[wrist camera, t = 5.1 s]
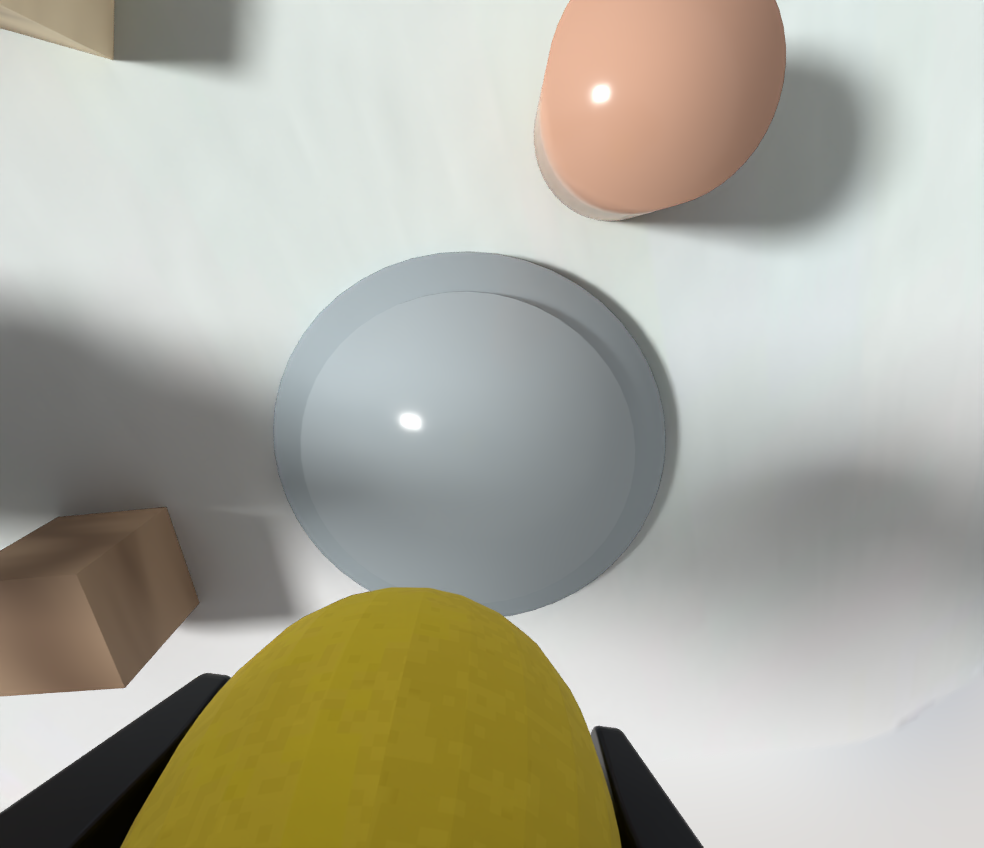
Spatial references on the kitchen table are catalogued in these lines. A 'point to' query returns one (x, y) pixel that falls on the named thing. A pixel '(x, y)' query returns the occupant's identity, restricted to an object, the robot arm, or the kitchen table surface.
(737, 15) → the pink cylinder
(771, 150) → the kitchen table surface
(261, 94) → the kitchen table surface
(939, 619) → the kitchen table surface
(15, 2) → the beech block
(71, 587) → the walnut block
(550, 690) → the lemon
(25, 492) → the kitchen table surface
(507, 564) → the plate
